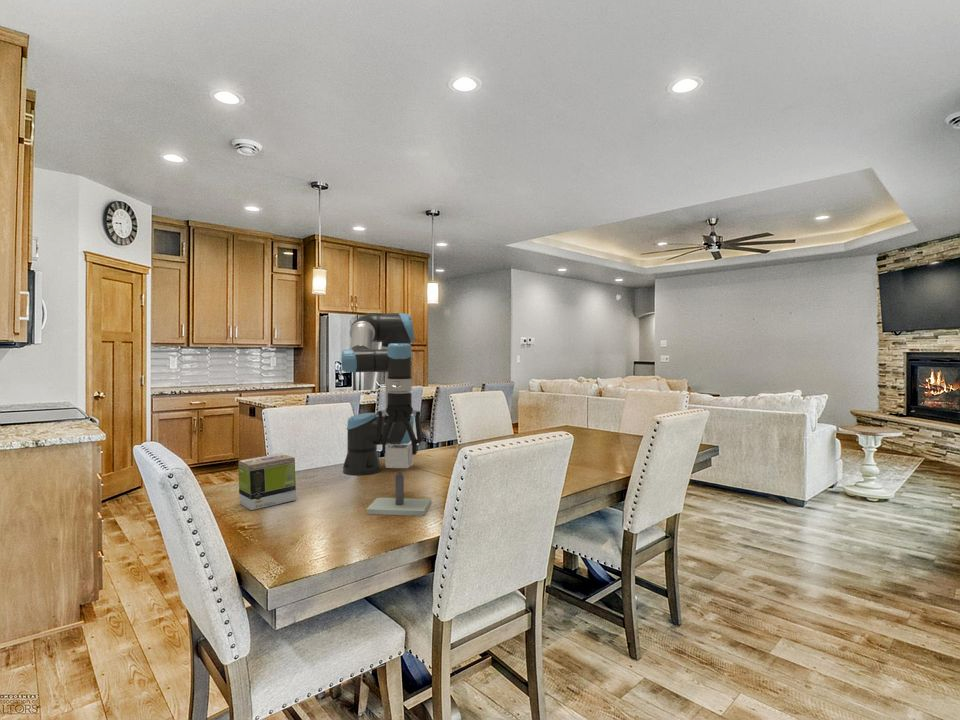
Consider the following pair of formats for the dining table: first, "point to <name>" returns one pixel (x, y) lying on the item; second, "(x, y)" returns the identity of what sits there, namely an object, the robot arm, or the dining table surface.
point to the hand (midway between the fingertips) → (399, 464)
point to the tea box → (266, 481)
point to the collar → (398, 456)
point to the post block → (399, 502)
